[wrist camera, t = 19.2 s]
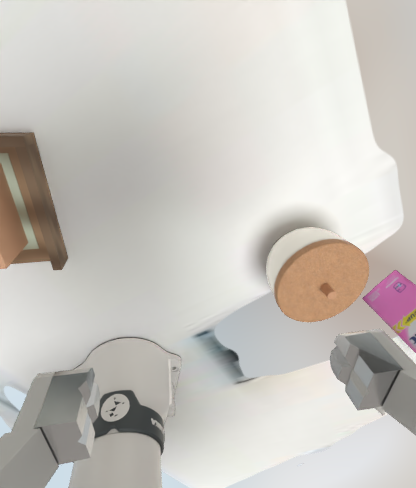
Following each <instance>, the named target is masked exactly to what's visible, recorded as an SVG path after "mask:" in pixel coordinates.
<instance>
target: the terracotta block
mask: <svg viewBox="0 0 416 488" xmlns="http://www.w3.org/2000/svg"><path fill="white" fill-rule="evenodd" d="M27 244H28V240H27V237H26V234H25V231H24V228H23V226H22V223H21V220H20V217H19V214H18V211H17V208H16V205H15V202H14V199H13V197H12V194H11V191H10V188H9V185H8V182H7V179H6V176H5V173H4V171H3V168H2V165H1V163H0V269H5V268H7V267H8V266H9V265H10V264H11V263H12V262H13V260H14V259H15V258H16V257H17V256H18V254H19V253H20V252H21V251H22V250H23V248H24V247H25V246H26V245H27Z"/></svg>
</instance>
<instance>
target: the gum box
mask: <svg viewBox="0 0 416 488" xmlns="http://www.w3.org/2000/svg"><path fill="white" fill-rule="evenodd" d="M363 300H364V301H365V302H366V303H367V304H368V305H369V306H370V307H371V308H372V309H373V310H374V311H375V312H376V313H377V314H378V315H379V316H380V317H381V318H382V319H383V320H384V321H385V322H386V323H387V324H388V325H389V326H390V327H391V328H392V329H393V330H394V331H395V332H396V333H397V334H398V335H399V336H400V337H401V338H402V339H403V341H404V342H405V343H406V344H407V345H408V346H409V347H410V348H411V349H412V350H413V351H414V352H415V353H416V285H415V284H413V283H412V282H411V281H410V280H408V279H407V278H405V277H404V276H403V275H402V274H400V273H399V272H398V271H396V270H394V271H393V272H392V273H391V274H390V275H389V276H387V277H386V278H385V279H384V280H383V281H381V282H380V283H379V284H378V285H377V286H375V287H374V288H373V289H372V290H371V291H370V292H369V293H368V294H367V295H366V296H364V297H363Z"/></svg>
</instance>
